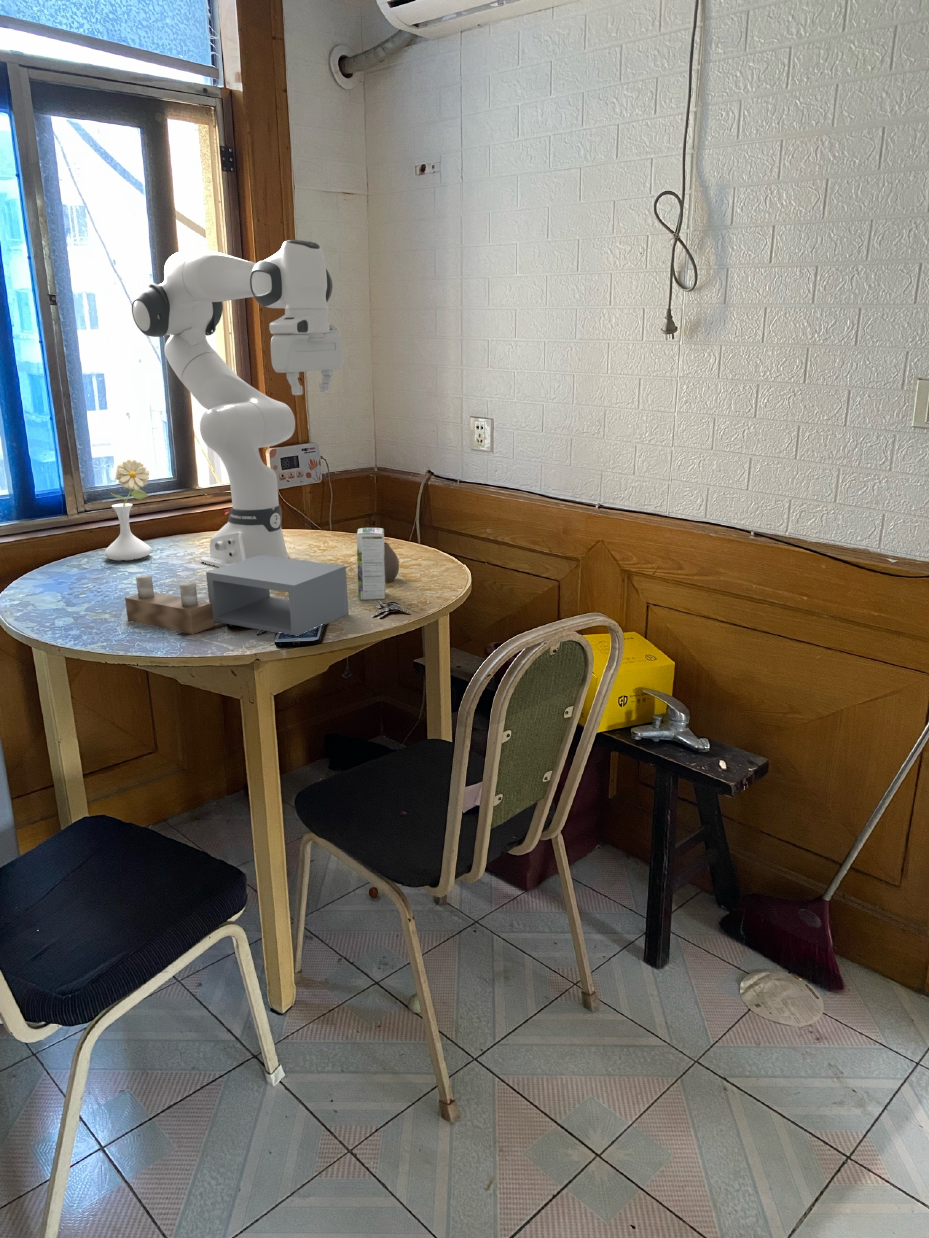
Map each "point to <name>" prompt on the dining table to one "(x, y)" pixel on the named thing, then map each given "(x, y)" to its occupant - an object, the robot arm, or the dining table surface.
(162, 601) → the twin candle holder
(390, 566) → the vase
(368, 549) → the syrup box
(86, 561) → the dining table surface
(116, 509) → the flower in vase
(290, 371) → the robot arm
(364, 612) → the dining table surface
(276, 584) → the slate shelf
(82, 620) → the dining table surface
